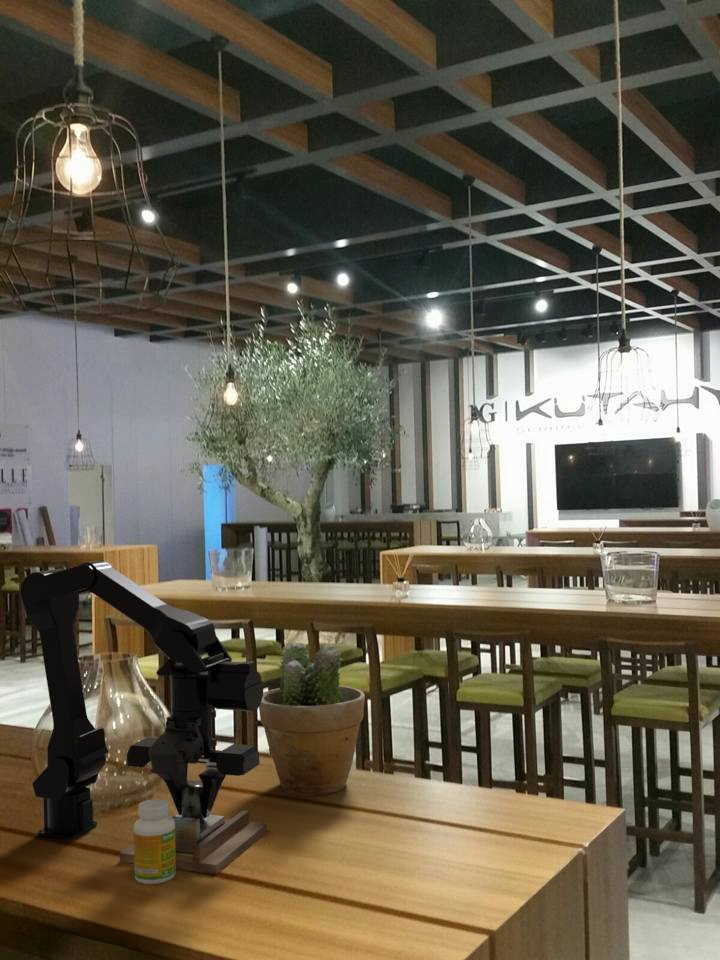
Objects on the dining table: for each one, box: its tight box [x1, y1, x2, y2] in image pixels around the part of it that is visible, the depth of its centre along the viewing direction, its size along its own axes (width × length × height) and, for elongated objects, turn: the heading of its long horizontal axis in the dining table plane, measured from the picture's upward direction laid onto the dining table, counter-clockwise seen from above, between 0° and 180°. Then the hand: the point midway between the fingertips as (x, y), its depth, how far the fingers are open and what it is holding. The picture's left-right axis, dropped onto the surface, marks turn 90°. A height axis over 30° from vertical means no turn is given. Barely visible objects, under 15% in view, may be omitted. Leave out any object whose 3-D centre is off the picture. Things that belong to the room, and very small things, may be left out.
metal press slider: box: [169, 780, 225, 853], centre depth 135 cm, size 7×8×7 cm
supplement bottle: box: [133, 798, 177, 885], centre depth 126 cm, size 5×5×10 cm
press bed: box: [119, 809, 268, 875], centre depth 137 cm, size 15×16×3 cm
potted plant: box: [258, 641, 366, 797], centre depth 163 cm, size 18×19×25 cm
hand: (194, 815), depth 136 cm, fingers closed on metal press slider, 4 cm apart
